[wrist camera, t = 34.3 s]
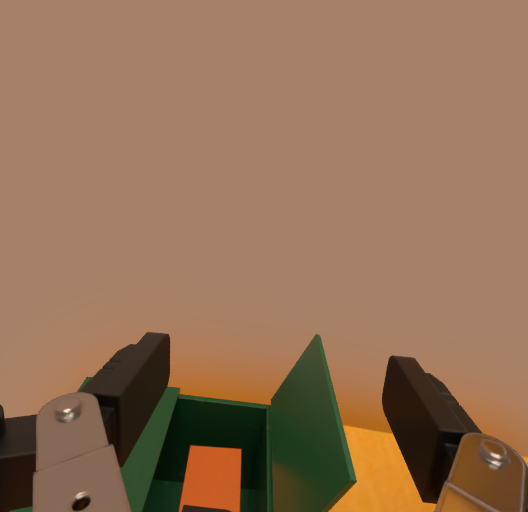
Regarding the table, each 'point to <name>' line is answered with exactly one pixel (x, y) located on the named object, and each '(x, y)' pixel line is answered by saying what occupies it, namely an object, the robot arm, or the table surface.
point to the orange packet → (212, 478)
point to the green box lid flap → (309, 438)
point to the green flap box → (197, 434)
